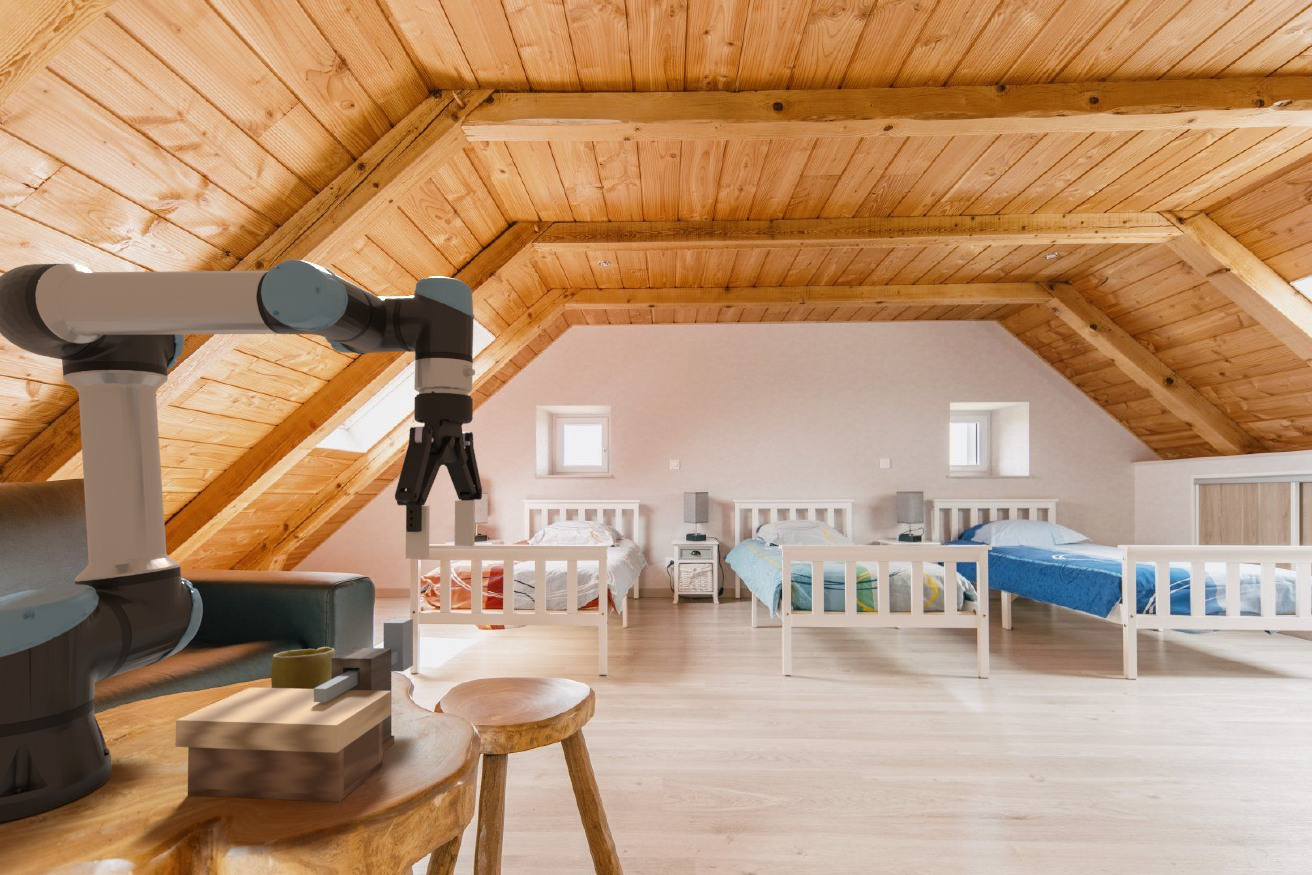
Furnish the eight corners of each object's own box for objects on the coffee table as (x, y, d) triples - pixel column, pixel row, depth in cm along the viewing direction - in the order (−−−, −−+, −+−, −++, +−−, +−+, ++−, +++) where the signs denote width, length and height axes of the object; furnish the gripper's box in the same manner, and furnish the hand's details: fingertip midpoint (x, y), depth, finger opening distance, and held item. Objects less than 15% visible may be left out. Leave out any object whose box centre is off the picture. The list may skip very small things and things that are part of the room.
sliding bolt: (308, 713, 80) (308, 655, 81) (394, 664, 100) (394, 618, 100) (331, 714, 80) (331, 655, 80) (412, 665, 100) (412, 618, 100)
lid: (175, 759, 76) (175, 720, 76) (249, 721, 87) (249, 687, 88) (336, 766, 73) (336, 725, 74) (391, 726, 85) (391, 690, 85)
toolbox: (187, 794, 77) (189, 683, 78) (282, 739, 93) (283, 646, 93) (339, 802, 75) (339, 686, 75) (410, 743, 90) (409, 648, 91)
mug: (311, 703, 102) (304, 638, 105) (256, 721, 103) (251, 656, 106) (365, 693, 113) (357, 635, 116) (315, 709, 115) (308, 651, 118)
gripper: (424, 381, 77) (423, 565, 76) (504, 402, 102) (504, 541, 101) (365, 382, 78) (362, 564, 77) (458, 403, 103) (457, 541, 102)
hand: (442, 551), depth 89 cm, fingers open, 13 cm apart
